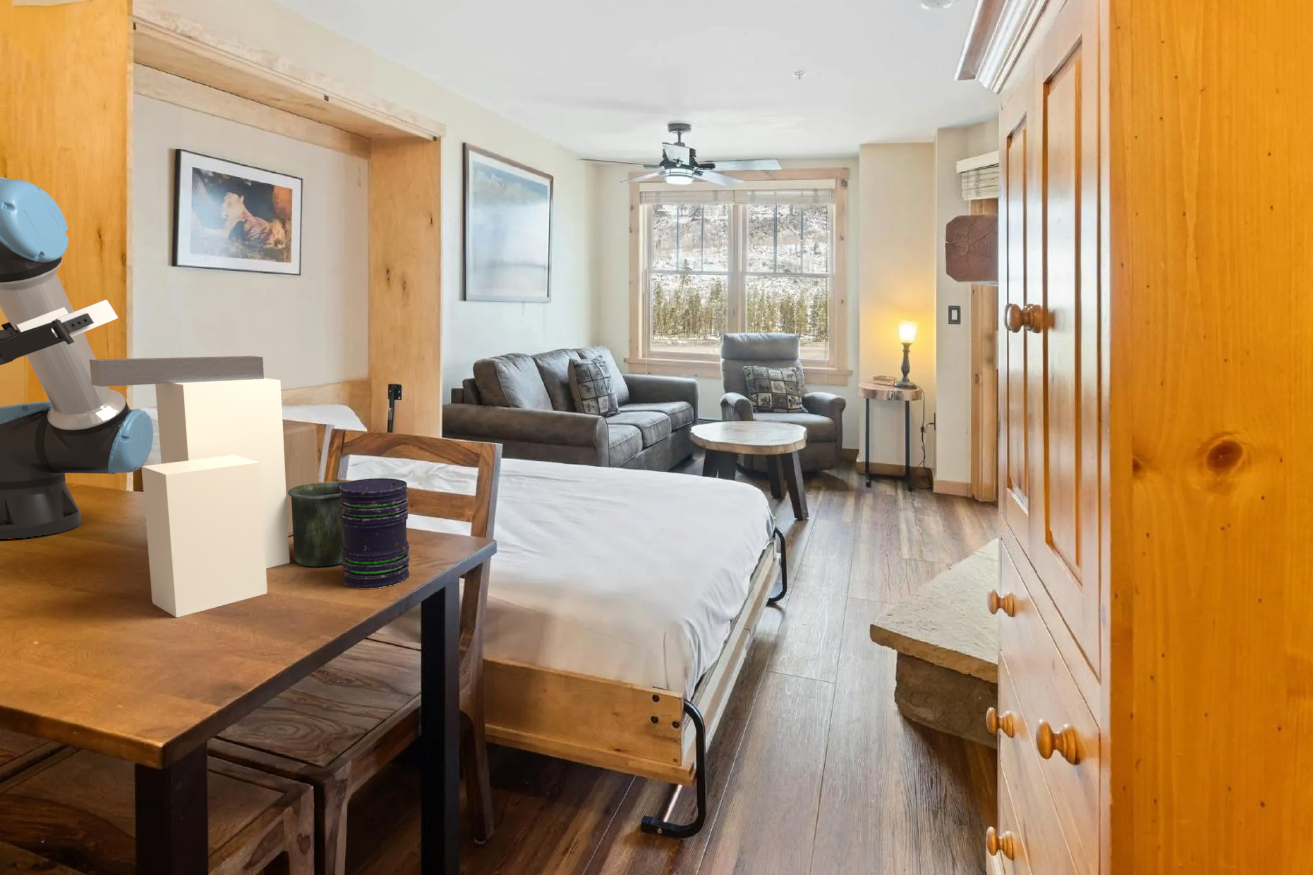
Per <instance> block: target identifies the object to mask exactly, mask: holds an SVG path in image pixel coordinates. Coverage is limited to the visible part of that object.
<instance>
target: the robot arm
mask: <svg viewBox="0 0 1313 875" xmlns="http://www.w3.org/2000/svg"><path fill="white" fill-rule="evenodd" d="M68 229H69V228H68V223H67V221H66V219H65V216H64V214H63V212H62V210H61V208H60V207H59V205H58V204H57V201H55V200H54V199H53V198H52V196H50V194H49V193H48V192H47V191H45V190H44V189H42V188H41V187H39V186H38V185H35V184H34V183H31V182H30V181H26V180H23V179H15V178H14V179H11V178H6V177H2V176H0V309H1V311H2V313H3V314H4V316H5V318H6V320H7V321H8V322H4V323H2V324H0V326H1V328H2V329H0V366H3V365H5V364H9V363H12V362H13V361H15V360H16V359H18V358H21V357H26V359H27V360H28V362H29V363H30V364H29V365H30V366H31V368H32V370H33V372H34V373H35V375H36V377H37V379H38V381H39V383H40V385H41V387H42V389H43V390H44V393H45V395H46V396H47V398H48V399H49V400H45V401H44V400H43V401H35V402H27V403H25V402H24V403H18V404H10V405H3V406H2V405H1V406H0V539H8V538H9V539H10V538H23V539H28V538H27V537H31V538H34V537H33V536H38V537H43V536H42V535H45V536H49V535H55V534H58V533H59V534H60V533H62V532H66V531H68V530H69V531H71V530H72V529H74V528H76V527H79V526H81V524H82V515H81V510H80V507H78V505H77V502H76V501H75V498H74V496H73V494H72V493H71V490H70V489H69V487H68V484H67V480H66V474H99V475H101V474H102V475H104V474H106V475H107V474H110V475H116V474H128V473H134V472H136V471H138V470H139V469H141V468H142V466H144V464H145V463H146V462H147V460H148V458H149V455H150V453H151V450H152V446H153V442H154V427H153V421H152V417H150V414H148V412H146V411H144V410H142V409H138V408H136V409H131V408H130V407H129V405H128V402H127V400H126V398H125V396H124V395H123V394H122V393H121V392H119V391H117V390H115V389H110V386H102V387H100V386H95V385H92V383H91V372H90V361H89V359H97V358H96V356H95V354H94V352H93V349H92V348H91V345H90V344H89V343H90V342H89V341H88V339H87V336H86V334H85V332H87V331H89V330H92V329H95V328H97V327H99V326H102V325H105V324H107V323H109V322H112V321H114V320H117V319H119V316H118V315H117V314H116V312H115V310H114V309H113V307H112V305H111V304H110V303H109V301H108V299H104V300H101V301H99V302H95V303H93V304H91V305H88V306H85V307H83V308H80V309H78V310H76V311H75V310H74V309H73V305H72V304H71V302H70V300H69V297H68V295H67V293H66V291H65V288H64V287H63V284H62V281H61V280H60V278H59V276H58V272H57V271H58V270H59V268H60V267H61V266H62V264H63V255H64V254H65V253H66V251H67V249H68V246H69V236H67V234H66V233H67V232H68V231H69V230H68ZM54 533H55V534H54ZM10 540H11V539H10Z"/></svg>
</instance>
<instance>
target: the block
mask: <svg viewBox="0 0 1313 875" xmlns="http://www.w3.org/2000/svg"><path fill="white" fill-rule="evenodd" d="M282 421H283V420H282ZM283 440H284V460H285V480H286V499H287V519H288V537H290V536H293V524H292V504H291V496H289V494H288V491H289V490H290V489H292V488H294V487H297V486H300V485H305V484H311V483H318V482H320V478H319V476H320V475H319V458H318V457H319V456H318V455H319V454H318V433H317V425H316V424H314V423H311V422H300V421H299V422H297V421H285V420H284V421H283Z"/></svg>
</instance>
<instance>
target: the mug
mask: <svg viewBox="0 0 1313 875" xmlns="http://www.w3.org/2000/svg"><path fill="white" fill-rule="evenodd" d="M346 482H347V481H321V482H320V481H319V482H318V483H311V484H305V485H300V486H297V487H294V488H292V489H290V490H289V491H288V494H289V496H291V504H292V524H293V535H292V538H293V539H292V541H293V542H292V544H293V558H294V561H295V562H296V563H297V564H298V565H301V566H306V567H316V568H317V567H330V566H331V567H332V566H336V565H342V553H341V551H342V546H343V545H344V538H343V524H342V523H341V519H340V516H341V511H340V502H341V501H340V495H341V493H340V485H342V484H343V483H346Z"/></svg>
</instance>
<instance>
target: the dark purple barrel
mask: <svg viewBox="0 0 1313 875" xmlns="http://www.w3.org/2000/svg"><path fill="white" fill-rule="evenodd" d="M345 482H346V483H343V484H342V485H340V493H341V495H340V501H341V502H340V511H341V516H340V519H341V523H342V524H343V538H344V545H343V546H342V551H341V553H342V564H341V566H342V573H343V575H344V576H343V584H344V585H345V586H346V585H347V587H348V586H350V587H349V588H351V587H353V588H352V589H356V588H379V587H383V586H389V585H394V584H397V583H401V582H402V581H405V580H406V579H407V578H408V579H409V578H410V571H409V567H410V561H411V560H410V559H411V558H410V555H411V554H410V543H409V541H408V539H407V538H408V537H407V536H408V533H407V530H408V529H407V520H408V517H409V510H408V507H409V499H408V491H407V489H408V483H407V482H406V481H405V480H402V479H397V478H389V477H388V478H386V477H381V478H379V477H376V478H362V479H355V480H350V481H345ZM408 579H407V580H408ZM407 580H406V581H407ZM406 581H405V582H406ZM401 584H402V583H401Z"/></svg>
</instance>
